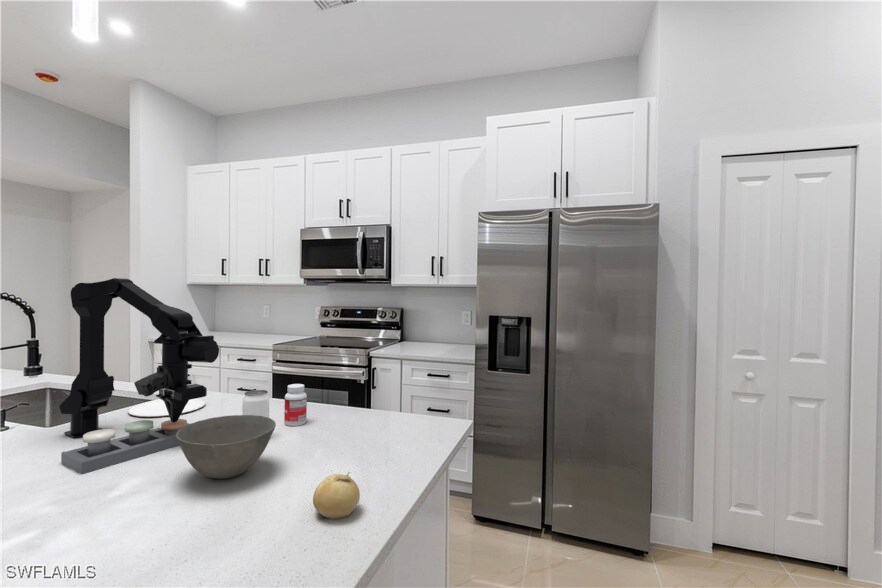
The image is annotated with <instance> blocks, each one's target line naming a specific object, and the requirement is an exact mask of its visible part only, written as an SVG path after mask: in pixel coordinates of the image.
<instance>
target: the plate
mask: <svg viewBox="0 0 882 588" xmlns="http://www.w3.org/2000/svg"><path fill="white" fill-rule="evenodd" d="M205 405H206V401H204V399H203V400H202V399H200V398H196V399H191V400H189V401H188V403H187V404H186V406H185V408H184V410H183V411H182V413H181V415H182V414H187V413H192V412H194V411H198V410H200V409H202V408H204V406H205ZM127 413H128V415H130V416H133V417H138V418H166V417H169V414H168V411H167V408H166V405H165V403H164V401H163V400H161V399H157V400H151V401H146V402H142V403H139V404H137V405H133V407H131V408H129V409H128V411H127Z"/></svg>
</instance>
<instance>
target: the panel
mask: <svg viewBox="0 0 882 588" xmlns="http://www.w3.org/2000/svg"><path fill="white" fill-rule="evenodd" d="M189 424H190V423H188V422H187V425H189ZM178 446H180V445H179V443H178V441H177V439H176V434H174V435H170V436H166V435H165V430H162V429H161V427H157V428H152V429H150V431H149V441H147V442H144V443H141V444H129V435H124V436H122V437H118V438H113V439H111V450H110V451H109V452H107V453H104V454H100V455H88V445H86V446H83V447H78V448H74V449H71V450H65V451H63V452H61V455H60V456H61V457H60V459H61V460H60V463H61V465H63V466H65V467H67V468H68V469H71V470H73V471H74V472H76V473H79V475H84V474H87V473H90V472H94V471H97V470H101V469H104V468H107V467H111V466H114V465H117V464H122V463H123V462H127V461H130V460H133V459H137V458H141V457H144V456H147V455H151V454H155V453H158V452H161V451H164V450H168V449H171V448H175V447H178Z"/></svg>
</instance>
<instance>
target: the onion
mask: <svg viewBox="0 0 882 588" xmlns="http://www.w3.org/2000/svg"><path fill="white" fill-rule="evenodd" d="M350 473H351V471H349V472H347V473H346V474H343V473H342V474H341V473H338V474H337V473H333V474H331V475H328V476H327V477H325V478H324V479H322V480H321V481H320V482H319V484H318V485H317V486H316V488H315V491H314V492H313V495H312V496H313V497H312V503H313V507H314V509H315V511H316V512H317V514H318V515H320V517H325V518H327V519H335V520H336V519H340V518H344V517H348V516H349V515H350V514H351V513H353V511H354V510H355V509H356V508H357V506H358V504H359V502H360V497H361V495H360V489H359V487H358V484H357V483H356V482H355V480H354V479H353V478H352V477H350Z"/></svg>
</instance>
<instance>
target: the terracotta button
mask: <svg viewBox="0 0 882 588" xmlns="http://www.w3.org/2000/svg"><path fill="white" fill-rule="evenodd" d="M187 423H188V420H187V419H184V418H179V419H178V421H177V422H171V420H170V419H169V420H165V421H163V422H161V424H160V426H161V427H160V428H161V429H162V430H165V435H166V436H170V435H174V434H176V433H177V431H178V430H179V429H181V428H182V427H184V426H187Z"/></svg>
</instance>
